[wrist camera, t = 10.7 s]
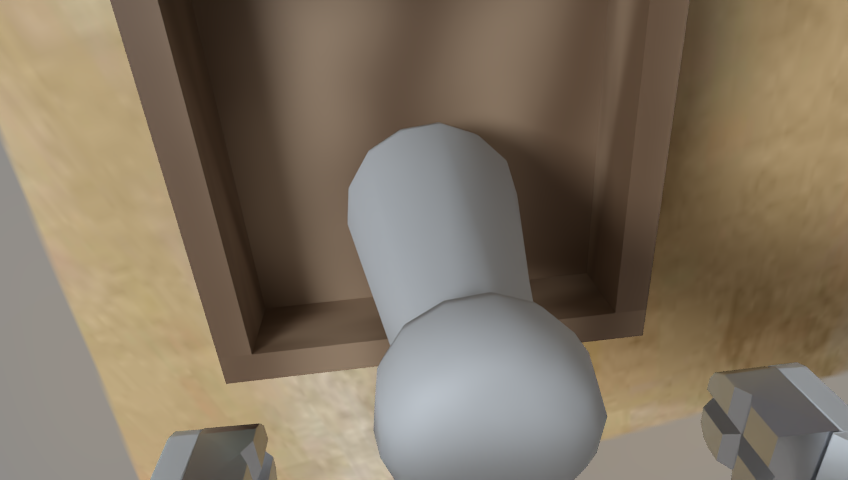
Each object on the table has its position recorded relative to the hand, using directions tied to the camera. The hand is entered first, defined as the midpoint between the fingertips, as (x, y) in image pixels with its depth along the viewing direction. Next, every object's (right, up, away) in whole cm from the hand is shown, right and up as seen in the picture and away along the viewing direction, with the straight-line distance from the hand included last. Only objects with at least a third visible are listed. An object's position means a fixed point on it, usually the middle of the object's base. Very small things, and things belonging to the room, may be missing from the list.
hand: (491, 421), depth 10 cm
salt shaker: (-1, +6, +11) cm, 12 cm away
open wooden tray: (-2, +9, +14) cm, 17 cm away
